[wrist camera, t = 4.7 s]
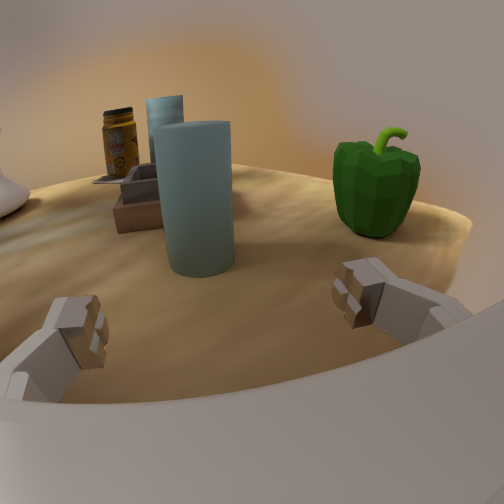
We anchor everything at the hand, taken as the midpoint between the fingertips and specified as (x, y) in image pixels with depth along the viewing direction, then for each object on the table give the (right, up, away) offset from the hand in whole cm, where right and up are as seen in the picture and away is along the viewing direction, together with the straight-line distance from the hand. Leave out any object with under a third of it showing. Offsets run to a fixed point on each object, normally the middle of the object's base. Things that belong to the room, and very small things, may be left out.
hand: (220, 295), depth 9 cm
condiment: (-22, +14, +38) cm, 46 cm away
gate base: (-9, +9, +27) cm, 29 cm away
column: (-3, +1, +13) cm, 13 cm away
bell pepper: (+12, +4, +18) cm, 22 cm away
